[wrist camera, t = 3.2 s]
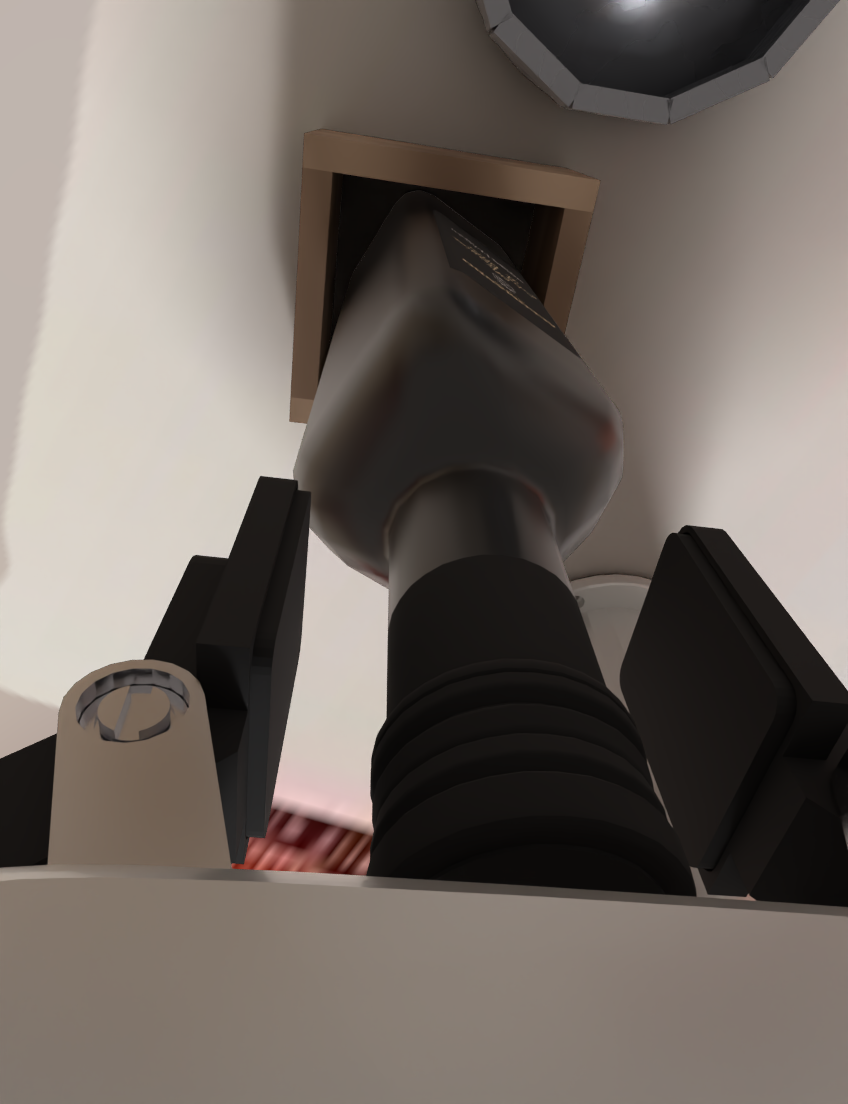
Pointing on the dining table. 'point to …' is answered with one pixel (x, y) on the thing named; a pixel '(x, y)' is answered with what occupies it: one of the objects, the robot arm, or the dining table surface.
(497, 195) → the open square wooden box
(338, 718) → the dining table surface
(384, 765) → the wine bottle
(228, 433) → the dining table surface
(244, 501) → the dining table surface
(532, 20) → the serving bowl
